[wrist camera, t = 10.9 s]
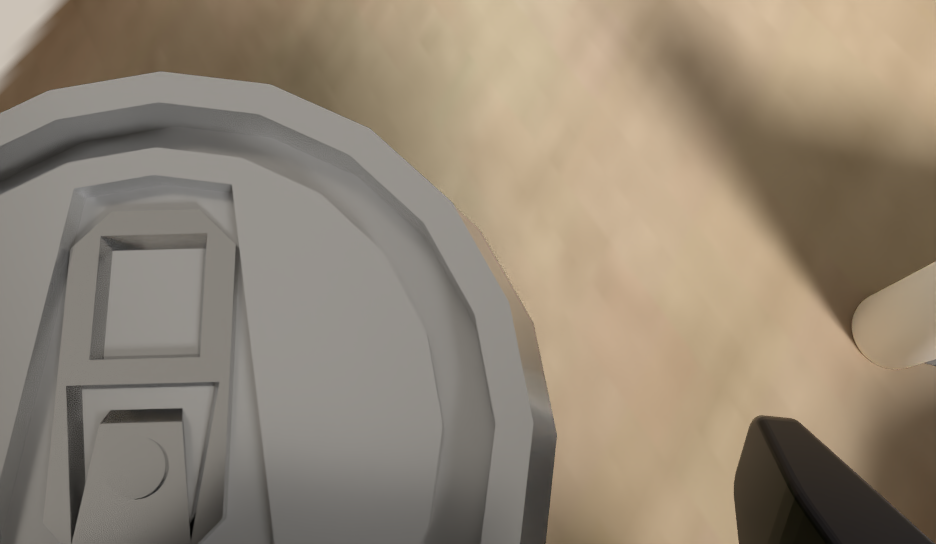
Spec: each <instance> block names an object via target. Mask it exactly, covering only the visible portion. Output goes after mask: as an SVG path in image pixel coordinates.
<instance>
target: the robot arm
mask: <svg viewBox="0 0 936 544" xmlns="http://www.w3.org/2000/svg"><path fill="white" fill-rule="evenodd" d="M734 502H735V511H736V521H737V530H738V539H739V544H935V543H934V542H932V541H931V540H930V539H929V538H928V537H927V536H926V535H925V534H923V533H922V532H921V531H920V530H919V529H918V528H917V527H916V526H915V525H913V524H912V523H911V522H910V521H909V520H908V519H907V518H906V517H905V516H903V515H902V514H901V513H900V512H899V511H898V510H897V509H896V508H895V507H893V506H892V505H891V504H890V503H889V502H888V501H887V500H886V499H884V498H883V497H882V496H881V495H880V494H879V493H878V492H877V491H876V490H874V489H873V488H872V487H871V486H870V485H869V484H868V483H867V482H866V481H864V480H863V479H862V478H861V477H860V476H859V475H858V474H857V473H855V472H854V471H853V470H852V469H851V468H850V467H849V466H848V465H847V464H845V463H844V462H843V461H842V460H841V459H840V458H839V457H838V456H837V455H835V454H834V453H833V452H832V451H831V450H830V449H829V448H828V447H827V446H825V445H824V444H823V443H822V442H821V441H820V440H819V439H818V438H816V437H815V436H814V435H813V434H812V433H811V432H810V431H809V430H808V429H806V428H805V427H804V426H803V425H802V424H801V423H799V422H798V421H797V420H795V419H791V418H783V417H773V416H763V415H760V416H757V417H756V418H754V419H753V421H752V422H751V424H750V426H749V429H748V433H747V436H746V440H745V443H744V446H743V450H742V453H741V457H740V460H739V464H738V467H737V470H736V474H735V480H734Z"/></svg>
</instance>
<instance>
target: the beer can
mask: <svg viewBox="0 0 936 544" xmlns="http://www.w3.org/2000/svg"><path fill="white" fill-rule="evenodd" d="M556 438H557V433H556V429H555V424H554V419H553V414H552V409H551V404H550V400H549V395H548V390H547V385H546V380H545V376H544V371H543V366H542V361H541V356H540V351H539V347H538V342H537V337H536V332H535V327H534V323H533V321H532V319H531V318H530V316H529V314H528V312H527V311H526V309H525V307H524V305H523V304H522V302H521V300H520V298H519V297H518V295H517V293H516V291H515V290H514V288H513V286H512V284H511V283H510V281H509V279H508V277H507V276H506V274H505V272H504V271H503V269H502V267H501V265H500V264H499V262H498V260H497V258H496V257H495V255H494V253H493V251H492V250H491V248H490V246H489V244H488V243H487V241H486V239H485V237H484V236H483V234H482V232H481V230H480V229H479V228H478V227H477V226H476V225H475V224H473V223H472V222H471V221H470V220H469V219H468V218H467V217H466V216H465V215H463V214H462V213H461V212H460V211H459V210H458V209H457V208H456V207H455V206H454V205H453V203H452V202H451V201H450V200H449V199H448V198H447V197H446V196H445V195H443V194H442V193H441V192H440V191H439V190H438V189H437V188H436V187H435V186H433V185H432V184H431V183H430V182H429V181H428V180H427V179H426V178H425V177H423V176H422V175H421V174H420V173H419V172H418V171H417V170H416V169H415V168H413V167H412V166H411V165H410V164H409V163H408V162H407V161H406V160H405V159H403V158H402V157H401V156H400V155H399V154H398V153H397V152H396V151H395V150H393V149H392V148H391V147H390V146H389V145H388V144H387V143H386V142H385V141H383V140H382V139H381V138H380V137H379V136H378V135H377V134H376V133H375V132H373V131H372V130H371V129H370V128H368V127H366V126H363V125H361V124H359V123H357V122H354V121H352V120H350V119H348V118H345V117H343V116H341V115H339V114H336V113H334V112H332V111H330V110H327V109H325V108H323V107H321V106H318V105H316V104H314V103H312V102H309V101H307V100H305V99H303V98H300V97H298V96H296V95H294V94H291V93H289V92H287V91H285V90H282V89H280V88H278V87H275V86H273V85H271V84H264V83H256V82H247V81H239V80H230V79H222V78H213V77H205V76H196V75H187V74H179V73H170V72H162V71H160V72H154V73H148V74H142V75H136V76H130V77H125V78H119V79H113V80H107V81H101V82H95V83H89V84H83V85H77V86H72V87H66V88H60V89H54V90H49V91H46V92H44V93H42V94H40V95H38V96H36V97H34V98H31V99H29V100H27V101H25V102H23V103H21V104H19V105H17V106H14V107H12V108H10V109H8V110H6V111H4V112H2V113H0V544H545V543H546V533H547V524H548V514H549V505H550V495H551V486H552V476H553V467H554V457H555V448H556Z"/></svg>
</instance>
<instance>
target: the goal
mask: <svg viewBox="0 0 936 544" xmlns="http://www.w3.org/2000/svg"><path fill="white" fill-rule="evenodd" d="M852 334H853V338H854V341H855V343H856V345H857V347H858V348H859V350H860V351H861V352H862V354H863V355H864V356H865V357H866V358H867V359H869V360H870V361H871V362H873V363H875V364H876V365H878V366H881V367H884V368H887V369H895V370H898V369H905V368H909V367H912V366H916V365H919V364H922V363H927V364H931V365H935V366H936V261H935V262H933V263H932V264H930V265H928V266H926V267H924V268H922V269H920V270H918V271H916V272H914V273H913V274H911V275H909V276H907V277H905V278H903V279H901V280H899V281H897V282H895V283H894V284H892V285H890V286H888V287H886V288H884V289H882V290H880V291H878V292H876V293H875V294H873V295H871V296H869V297H867V298H866V299H864V300H863V301H862V302H861V303H860V304H859V305H858V307H857V308H856V310H855V312H854V315H853V319H852Z"/></svg>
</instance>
